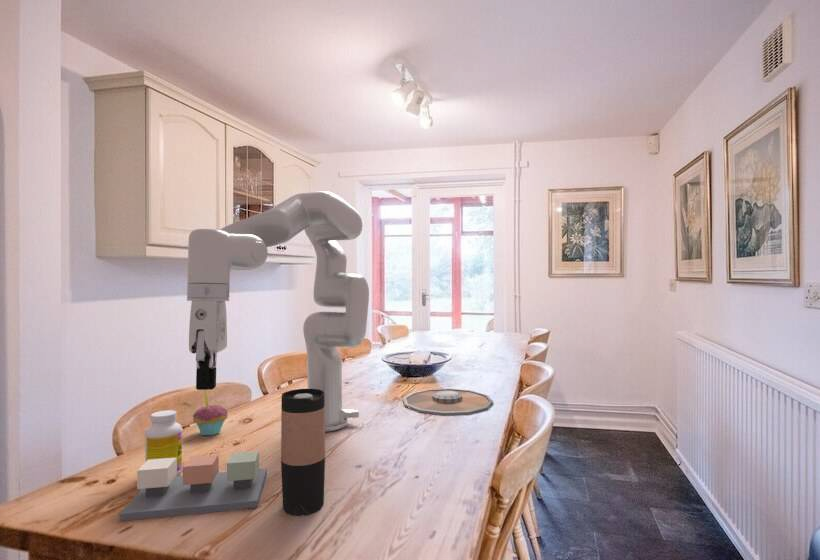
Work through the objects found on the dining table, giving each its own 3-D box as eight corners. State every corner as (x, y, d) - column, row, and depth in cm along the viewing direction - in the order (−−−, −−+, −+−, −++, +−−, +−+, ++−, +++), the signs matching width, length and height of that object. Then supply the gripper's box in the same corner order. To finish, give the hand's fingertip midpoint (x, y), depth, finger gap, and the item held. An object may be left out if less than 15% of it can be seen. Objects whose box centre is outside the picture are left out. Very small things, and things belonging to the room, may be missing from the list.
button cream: (176, 474, 85) (176, 457, 85) (167, 486, 80) (167, 468, 80) (148, 477, 84) (148, 459, 84) (137, 489, 79) (137, 470, 79)
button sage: (258, 467, 88) (258, 451, 88) (255, 478, 83) (255, 461, 83) (232, 470, 87) (232, 453, 87) (226, 481, 82) (226, 463, 82)
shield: (409, 382, 165) (491, 384, 160) (409, 390, 165) (491, 393, 160) (394, 404, 135) (494, 408, 130) (394, 415, 135) (494, 419, 130)
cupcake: (214, 439, 113) (214, 392, 113) (185, 437, 115) (185, 390, 115) (234, 428, 122) (234, 384, 122) (206, 426, 123) (206, 383, 123)
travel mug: (285, 496, 83) (285, 388, 83) (327, 494, 83) (327, 387, 83) (277, 518, 75) (276, 399, 75) (322, 515, 76) (322, 398, 76)
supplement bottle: (183, 477, 91) (183, 414, 91) (146, 485, 87) (145, 420, 88) (180, 466, 97) (180, 406, 97) (144, 473, 93) (144, 411, 93)
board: (267, 474, 92) (267, 457, 92) (257, 507, 78) (257, 488, 79) (151, 484, 88) (151, 466, 88) (119, 521, 74) (119, 500, 74)
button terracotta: (218, 471, 86) (218, 454, 86) (212, 482, 81) (212, 464, 81) (190, 473, 85) (190, 456, 85) (182, 485, 80) (182, 466, 80)
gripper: (220, 293, 79) (217, 396, 79) (236, 294, 94) (234, 381, 93) (174, 292, 78) (171, 398, 77) (198, 293, 93) (196, 382, 92)
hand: (206, 388), depth 85 cm, fingers closed
